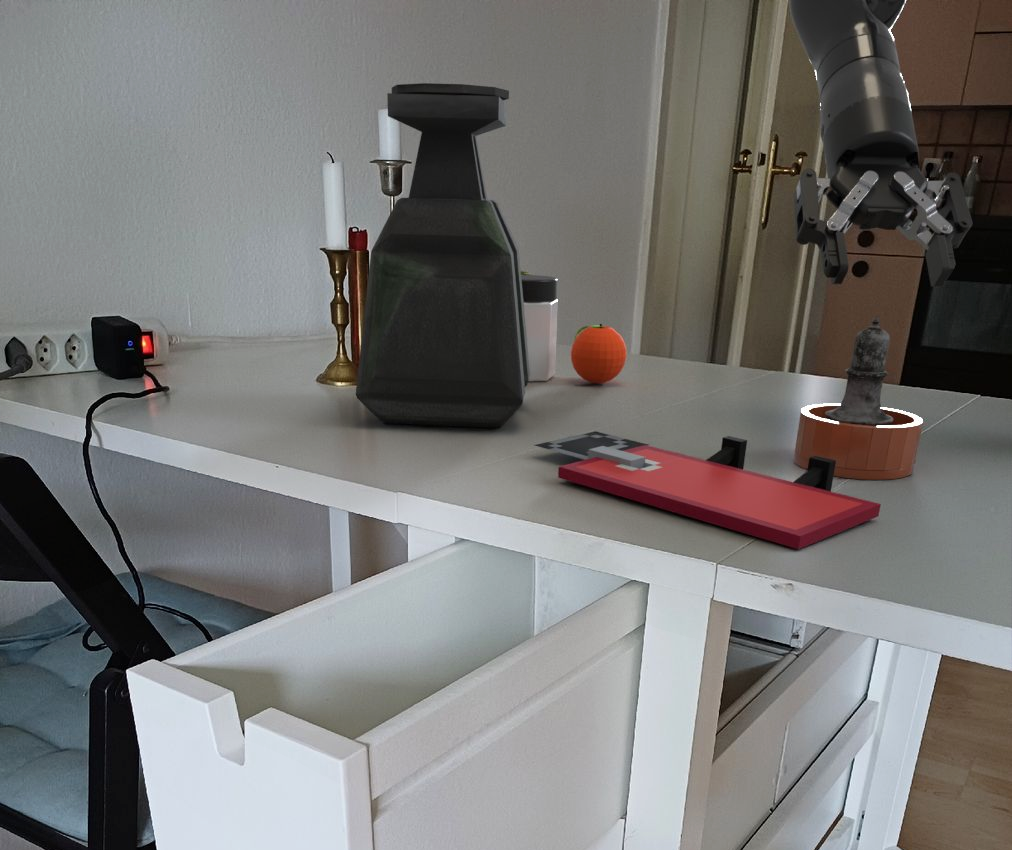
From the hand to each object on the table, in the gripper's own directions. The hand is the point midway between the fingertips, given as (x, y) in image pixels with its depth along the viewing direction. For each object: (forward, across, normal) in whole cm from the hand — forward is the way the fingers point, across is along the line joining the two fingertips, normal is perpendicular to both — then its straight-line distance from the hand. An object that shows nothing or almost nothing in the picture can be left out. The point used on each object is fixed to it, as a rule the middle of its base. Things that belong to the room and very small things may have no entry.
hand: (891, 279), depth 84 cm
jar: (-21, -28, +43) cm, 56 cm away
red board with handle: (+17, -17, +6) cm, 25 cm away
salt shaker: (+10, 0, +12) cm, 15 cm away
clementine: (-18, -19, +41) cm, 49 cm away
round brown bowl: (+10, 0, +12) cm, 16 cm away
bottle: (-3, -37, +25) cm, 45 cm away
